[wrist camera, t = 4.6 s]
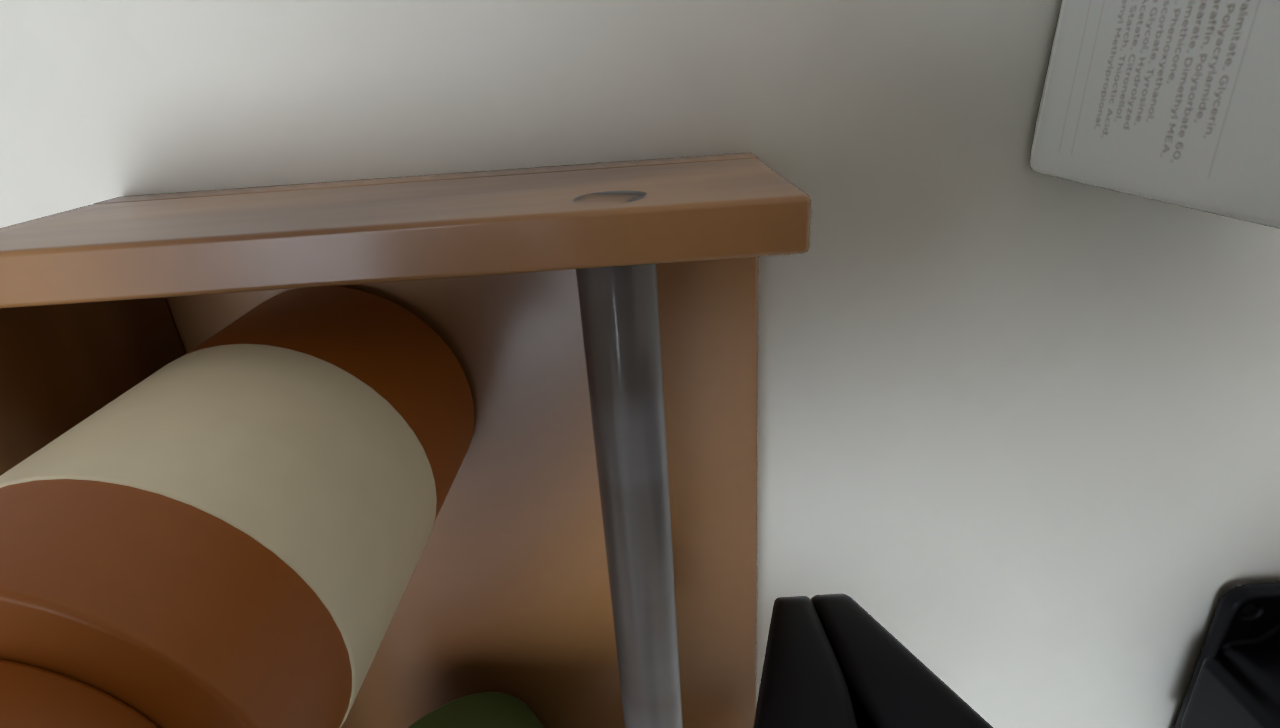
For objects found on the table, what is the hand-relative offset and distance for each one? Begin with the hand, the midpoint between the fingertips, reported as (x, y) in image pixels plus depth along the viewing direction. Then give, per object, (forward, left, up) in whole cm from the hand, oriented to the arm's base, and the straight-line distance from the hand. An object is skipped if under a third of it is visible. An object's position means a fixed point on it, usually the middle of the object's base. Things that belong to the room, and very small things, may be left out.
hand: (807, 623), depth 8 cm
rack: (+6, +5, -8) cm, 11 cm away
